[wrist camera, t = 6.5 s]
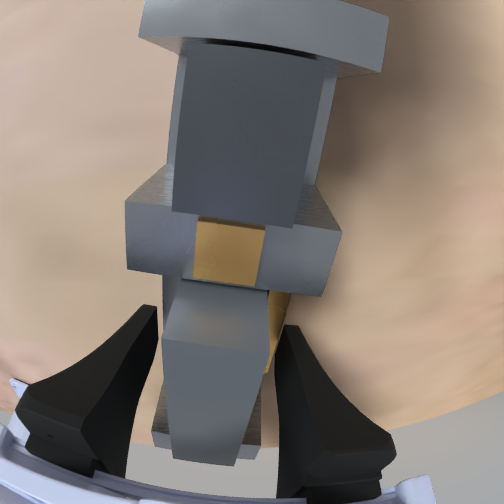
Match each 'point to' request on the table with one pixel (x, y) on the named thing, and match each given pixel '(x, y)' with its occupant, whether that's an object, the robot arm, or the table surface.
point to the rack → (247, 152)
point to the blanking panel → (213, 367)
